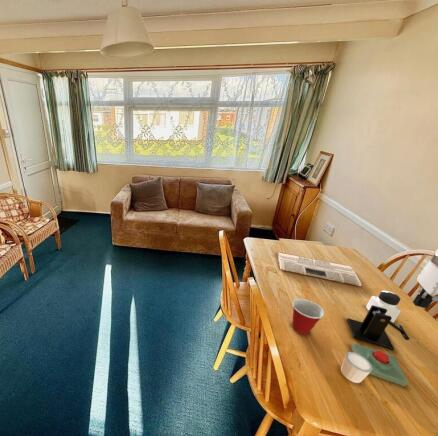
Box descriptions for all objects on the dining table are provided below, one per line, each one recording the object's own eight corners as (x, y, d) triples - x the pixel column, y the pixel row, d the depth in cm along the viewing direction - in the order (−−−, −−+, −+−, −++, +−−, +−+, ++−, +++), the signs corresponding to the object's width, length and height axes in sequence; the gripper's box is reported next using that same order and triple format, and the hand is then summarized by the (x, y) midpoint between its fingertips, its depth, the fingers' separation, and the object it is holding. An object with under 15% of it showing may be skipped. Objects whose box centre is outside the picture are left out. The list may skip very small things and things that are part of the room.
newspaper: (280, 270, 131) (281, 266, 130) (277, 253, 147) (278, 249, 146) (360, 287, 118) (362, 283, 117) (346, 266, 134) (348, 262, 133)
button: (384, 356, 81) (386, 353, 80) (388, 365, 78) (391, 362, 77) (371, 352, 82) (373, 348, 82) (375, 360, 80) (377, 357, 79)
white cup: (367, 388, 75) (376, 375, 72) (342, 380, 77) (350, 367, 74) (358, 368, 81) (366, 355, 78) (335, 361, 83) (342, 349, 80)
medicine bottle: (394, 323, 98) (407, 302, 93) (373, 318, 100) (385, 298, 95) (384, 310, 104) (396, 290, 99) (365, 307, 106) (376, 287, 101)
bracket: (382, 330, 95) (396, 307, 90) (392, 350, 87) (409, 327, 81) (346, 319, 100) (357, 297, 94) (353, 338, 92) (366, 315, 86)
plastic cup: (300, 315, 102) (308, 295, 97) (321, 336, 92) (331, 315, 87) (279, 320, 100) (286, 299, 95) (299, 342, 90) (308, 320, 85)
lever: (397, 328, 90) (404, 326, 89) (405, 341, 86) (412, 338, 84) (370, 308, 92) (376, 305, 91) (376, 319, 87) (382, 316, 86)
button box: (391, 360, 84) (396, 352, 82) (404, 386, 75) (410, 379, 74) (350, 346, 88) (354, 339, 87) (359, 370, 80) (363, 363, 78)
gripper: (484, 280, 65) (447, 325, 73) (451, 254, 77) (422, 295, 85) (447, 272, 68) (415, 316, 76) (421, 248, 80) (396, 288, 88)
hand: (419, 305), depth 81 cm, fingers closed
